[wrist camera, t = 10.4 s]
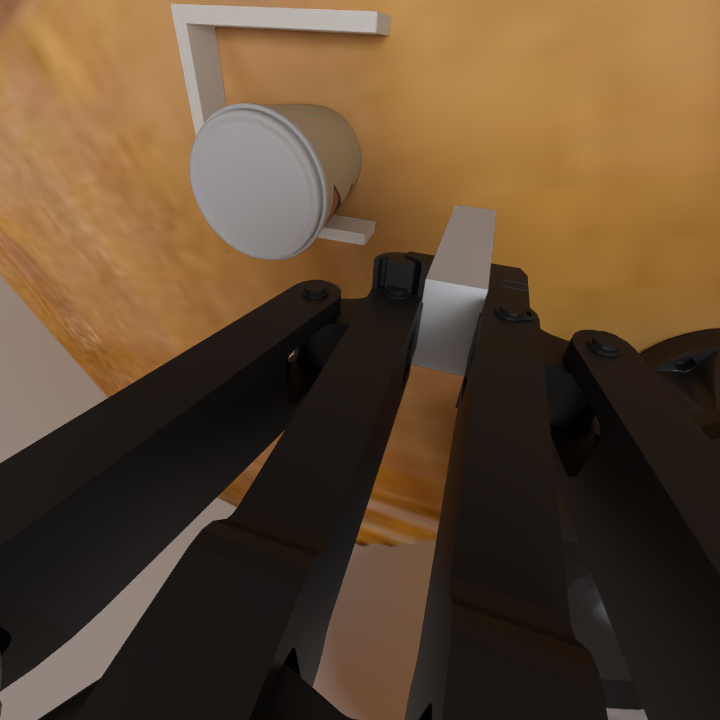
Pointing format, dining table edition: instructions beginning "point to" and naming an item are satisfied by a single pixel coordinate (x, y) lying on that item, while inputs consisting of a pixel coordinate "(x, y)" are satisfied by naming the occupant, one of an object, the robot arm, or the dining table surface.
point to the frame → (201, 21)
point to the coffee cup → (273, 175)
